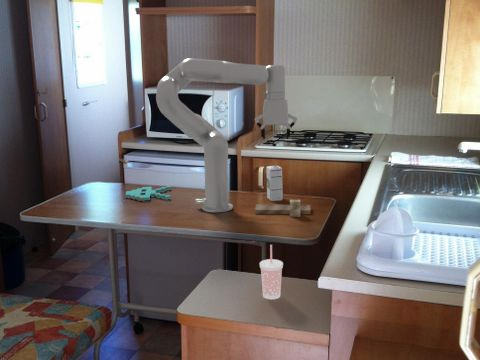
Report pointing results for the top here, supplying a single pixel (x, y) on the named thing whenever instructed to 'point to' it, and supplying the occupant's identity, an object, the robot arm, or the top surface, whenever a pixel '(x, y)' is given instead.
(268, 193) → the syrup box
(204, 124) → the robot arm
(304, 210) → the board
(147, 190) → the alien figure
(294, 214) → the wooden mallet
